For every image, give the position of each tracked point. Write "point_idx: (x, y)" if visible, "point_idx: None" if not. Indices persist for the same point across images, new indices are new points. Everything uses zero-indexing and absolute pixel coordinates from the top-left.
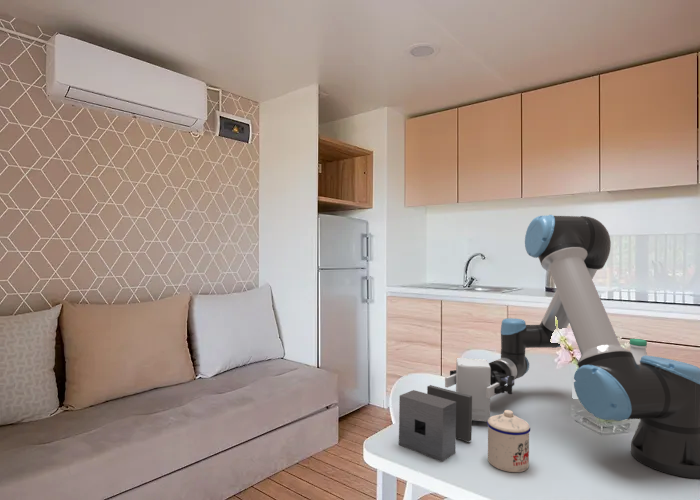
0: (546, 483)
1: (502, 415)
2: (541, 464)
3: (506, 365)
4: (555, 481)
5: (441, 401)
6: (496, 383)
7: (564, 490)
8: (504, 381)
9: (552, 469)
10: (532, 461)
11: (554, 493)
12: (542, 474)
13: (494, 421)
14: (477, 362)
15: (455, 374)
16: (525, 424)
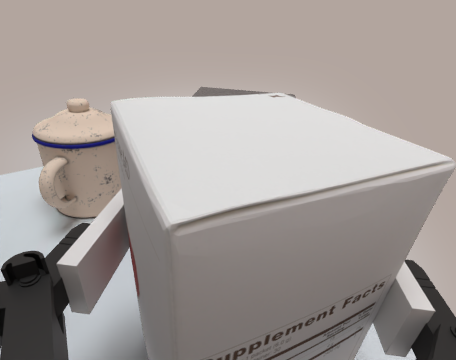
0: (38, 179)
1: (92, 109)
2: (22, 216)
3: None
4: (18, 187)
5: (217, 94)
6: (82, 247)
7: (14, 176)
8: (8, 259)
9: (4, 211)
10: (40, 218)
11: (35, 169)
12: (35, 193)
13: (111, 115)
14: (219, 120)
15: (401, 275)
16: (44, 121)
